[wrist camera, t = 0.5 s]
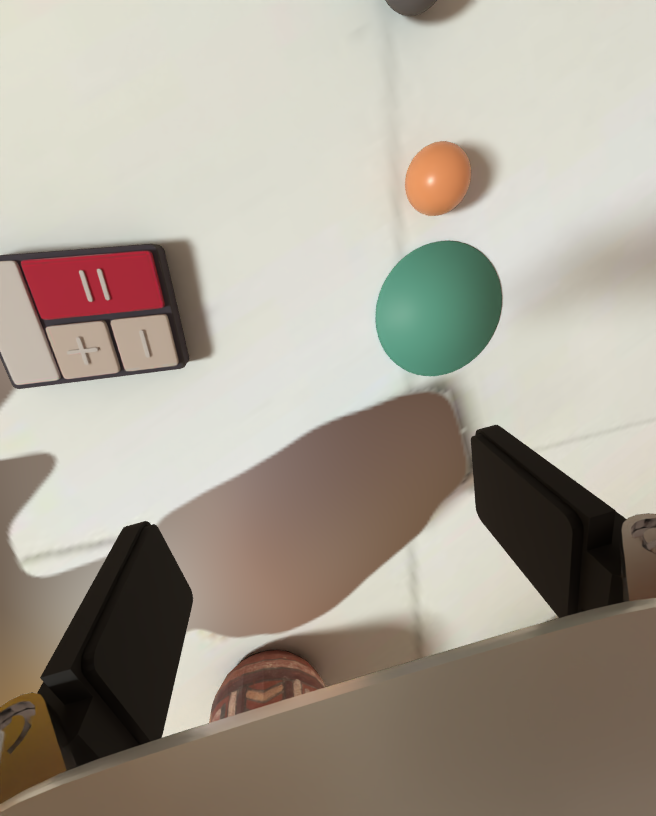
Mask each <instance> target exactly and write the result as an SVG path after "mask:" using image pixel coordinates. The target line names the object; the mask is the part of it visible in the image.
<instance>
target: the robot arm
mask: <svg viewBox="0 0 656 816" xmlns="http://www.w3.org/2000/svg"><path fill="white" fill-rule="evenodd" d="M471 449H472V462H473V476H474V490H475V503H476V511H477V514H478V516H479V518H480V520H481V521H482V523H483V524H484V525H485V526H486V527H487V529H488V530H489V531H490V532H491V534H492V535H493V536H494V537H495V539H496V540H497V541H498V542H499V544H500V545H501V546H502V547H503V549H504V550H505V551H506V552H507V554H508V555H509V556H510V557H511V559H512V560H513V561H514V562H515V564H516V565H517V566H518V567H519V569H520V570H521V571H522V572H523V573H524V575H525V576H526V577H527V578H528V580H529V581H530V582H531V583H532V585H533V586H534V587H535V588H536V590H537V591H538V592H539V593H540V595H541V596H542V597H543V598H544V600H545V601H546V602H547V603H548V605H549V606H550V607H551V608H552V610H553V611H554V612H555V613H556V615H557V616H558V617H559V618H558V619H554V620H551V621H547V622H544V623H540V624H536V625H533V626H529V627H525V628H522V629H519V630H515V631H512V632H508V633H505V634H502V635H498V636H495V637H492V638H488V639H485V640H481V641H478V642H475V643H471V644H468V645H465V646H461V647H458V648H454V649H451V650H448V651H444V652H441V653H438V654H434V655H431V656H428V657H424V658H421V659H417V660H414V661H411V662H407V663H404V664H401V665H398V666H394V667H391V668H388V669H384V670H381V671H378V672H374V673H371V674H368V675H364V676H361V677H358V678H354V679H351V680H348V681H345V682H341V683H338V684H335V685H331V686H328V687H325V688H322V689H318V690H315V691H312V692H308V693H305V694H302V695H299V696H295V697H292V698H289V699H285V700H282V701H279V702H276V703H272V704H269V705H266V706H263V707H260V708H256V709H253V710H250V711H247V712H243V713H240V714H237V715H234V716H230V717H227V718H224V719H221V720H218V721H214V722H211V723H208V724H205V725H201V726H198V727H195V728H192V729H188V730H185V731H182V732H179V733H176V734H172V735H169V736H166V737H163V738H161V737H162V734H163V730H164V726H165V721H166V717H167V713H168V708H169V704H170V699H171V695H172V691H173V686H174V682H175V678H176V673H177V669H178V665H179V660H180V656H181V651H182V647H183V643H184V638H185V634H186V629H187V625H188V621H189V617H190V612H191V608H192V603H193V595H192V591H191V589H190V587H189V585H188V583H187V581H186V579H185V577H184V575H183V573H182V572H181V570H180V568H179V566H178V564H177V562H176V560H175V558H174V556H173V555H172V553H171V551H170V549H169V547H168V545H167V543H166V541H165V540H164V538H163V536H162V534H161V532H160V530H159V528H158V527H157V526H156V525H155V524H153V525H151V524H150V523H149V522H147V521H144V522H140V523H137V524H133V525H129V526H126V527H124V528H123V529H122V531H121V533H120V534H119V536H118V538H117V540H116V542H115V543H114V545H113V547H112V549H111V551H110V552H109V554H108V556H107V558H106V560H105V562H104V563H103V565H102V567H101V569H100V571H99V572H98V574H97V576H96V578H95V580H94V581H93V583H92V585H91V587H90V589H89V590H88V592H87V594H86V596H85V598H84V599H83V601H82V603H81V605H80V607H79V609H78V610H77V612H76V614H75V616H74V618H73V619H72V621H71V623H70V625H69V627H68V628H67V630H66V632H65V634H64V636H63V638H62V640H61V641H60V643H59V645H58V647H57V648H56V650H55V652H54V654H53V656H52V657H51V659H50V661H49V663H48V665H47V666H46V669H45V670H44V672H43V674H42V676H41V677H40V678H41V679H42V680H43V684H42V685H41V687H40V689H39V691H38V693H33V692H31V693H27V694H22V695H20V696H18V697H15V698H13V699H11V700H9V701H8V702H6V703H5V704H3V705H2V706H1V707H0V816H656V514H649V513H648V514H638V515H635V516H632V517H629V518H628V519H625V518H624V517H623V516H621V515H620V514H619V513H617V512H616V511H615V510H614V509H613V508H611V507H610V506H609V505H607V504H606V503H605V502H603V501H602V500H600V499H599V498H598V497H596V496H595V495H594V494H592V493H591V492H589V491H588V490H587V489H585V488H584V487H583V486H581V485H580V484H578V483H577V482H576V481H574V480H573V479H572V478H570V477H569V476H567V475H566V474H565V473H563V472H562V471H561V470H559V469H558V468H556V467H555V466H554V465H552V464H551V463H550V462H548V461H547V460H545V459H544V458H543V457H541V456H540V455H539V454H537V453H536V452H534V451H533V450H532V449H530V448H529V447H528V446H526V445H525V444H523V443H522V442H521V441H519V440H518V439H517V438H515V437H514V436H513V435H511V434H510V433H508V432H507V431H506V430H504V429H503V428H502V427H500V426H498V425H493V426H490V427H486V428H482V429H479V430H477V431H476V434H475V436H472V438H471Z"/></svg>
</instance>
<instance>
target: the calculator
mask: <svg viewBox="0 0 656 816" xmlns="http://www.w3.org/2000/svg"><path fill="white" fill-rule="evenodd" d="M0 358H1V361H2V363H3V365H4V367H5V370H6V372H7V374H8V377H9V379H10V381H11V383H12V385H13V387H15V388H17V389H23V388H31V387H39V386H47V385H55V384H63V383H71V382H79V381H87V380H94V379H102V378H110V377H118V376H126V375H134V374H142V373H150V372H158V371H166V370H174V369H181V368H183V367H185V365H186V364H187V362H188V360H189V355H188V351H187V346H186V342H185V338H184V333H183V329H182V325H181V320H180V316H179V312H178V307H177V303H176V299H175V295H174V290H173V286H172V282H171V277H170V273H169V269H168V264H167V260H166V256H165V252H164V249H163V247H161V246H159V245H154V244H144V245H131V246H118V247H105V248H91V249H78V250H65V251H52V252H39V253H26V254H12V255H0Z"/></svg>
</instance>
